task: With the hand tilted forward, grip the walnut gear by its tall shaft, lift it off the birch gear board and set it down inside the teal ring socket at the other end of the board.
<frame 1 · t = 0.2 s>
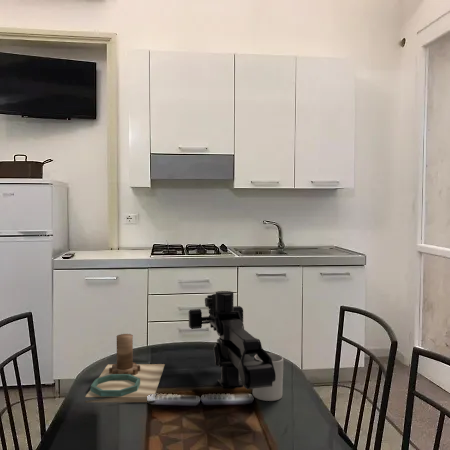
hand: (210, 312, 167), 16 cm above the table, tool horizontal, fingers open, 9 cm apart
mug: (266, 393, 136), on the table, touching arm
gear: (124, 371, 149), point 1 cm above the table, touching gear board
gear board: (128, 383, 142), on the table
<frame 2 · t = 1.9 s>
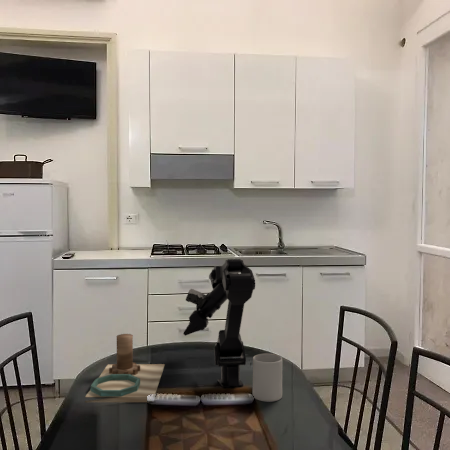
hand: (187, 329, 161), 12 cm above the table, tool tilted 45°, fingers open, 9 cm apart
mug: (266, 394, 136), on the table
everything else where it was.
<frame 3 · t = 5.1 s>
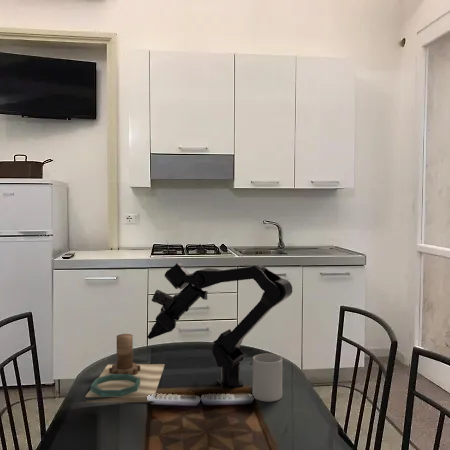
hand: (150, 334, 148), 14 cm above the table, tool tilted 45°, fingers open, 9 cm apart
nothing on the table moved.
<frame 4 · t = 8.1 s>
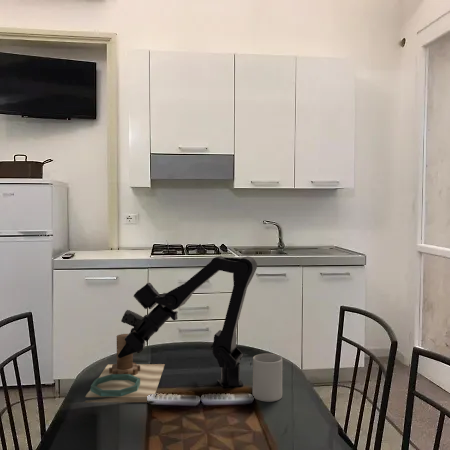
hand: (120, 354, 149), 7 cm above the table, tool tilted 45°, fingers closed on gear, 5 cm apart
gear: (124, 371, 149), point 2 cm above the table, touching gear board, gripper
everything else where it was.
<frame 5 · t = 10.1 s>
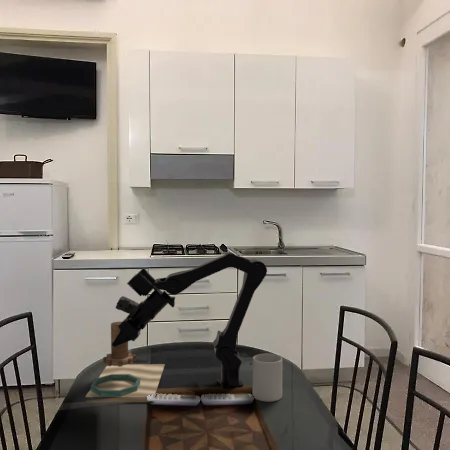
hand: (115, 343, 141), 13 cm above the table, tool tilted 45°, fingers closed on gear, 5 cm apart
gear: (119, 361, 141), point 7 cm above the table, touching gripper
everything else where it was.
when the fingers open (9 cm above the table, at t = 11.9 s): gear drops 2 cm, resting on gear board.
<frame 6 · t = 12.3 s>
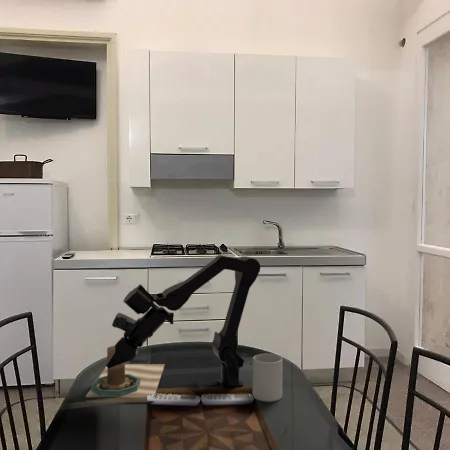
hand: (111, 361, 135), 9 cm above the table, tool tilted 45°, fingers open, 9 cm apart
gear: (116, 387, 136), point 1 cm above the table, touching gear board
everything else where it was.
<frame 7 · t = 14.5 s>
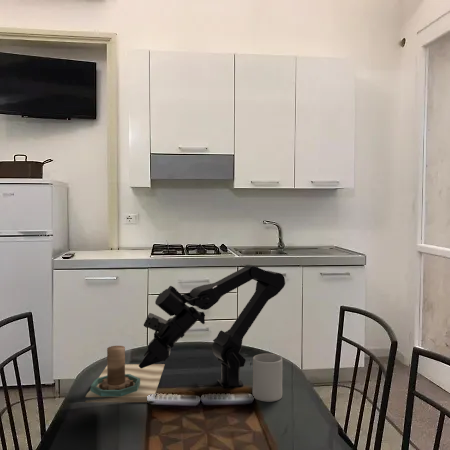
hand: (142, 361, 136), 9 cm above the table, tool tilted 45°, fingers open, 9 cm apart
nothing on the table moved.
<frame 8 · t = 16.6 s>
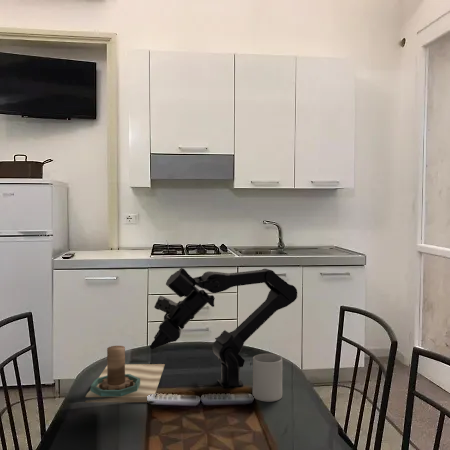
hand: (152, 343, 138), 14 cm above the table, tool tilted 45°, fingers open, 9 cm apart
nothing on the table moved.
at the end: gear 0.1 cm from the target spot, point 1.5 cm above the table; gear tilted 0°; the gripper is holding nothing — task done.
